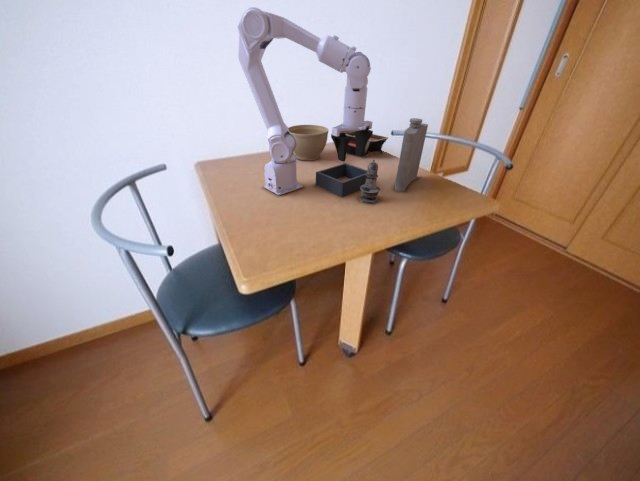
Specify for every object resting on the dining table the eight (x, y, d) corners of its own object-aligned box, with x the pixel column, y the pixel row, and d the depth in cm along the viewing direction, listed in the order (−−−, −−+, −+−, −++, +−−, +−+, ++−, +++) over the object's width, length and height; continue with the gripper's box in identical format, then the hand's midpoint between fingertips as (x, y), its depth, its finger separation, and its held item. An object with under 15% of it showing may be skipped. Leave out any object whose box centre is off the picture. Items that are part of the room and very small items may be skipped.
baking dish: (361, 149, 132) (359, 127, 127) (392, 153, 120) (392, 128, 115) (338, 158, 125) (335, 134, 120) (369, 162, 112) (367, 136, 108)
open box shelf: (342, 197, 85) (343, 183, 83) (315, 185, 92) (315, 171, 89) (370, 185, 93) (372, 172, 90) (344, 175, 100) (345, 162, 97)
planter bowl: (305, 148, 125) (305, 122, 119) (335, 156, 117) (336, 129, 110) (279, 157, 114) (277, 129, 108) (309, 166, 106) (309, 136, 100)
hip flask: (402, 192, 89) (415, 124, 77) (390, 189, 90) (401, 122, 79) (417, 177, 100) (431, 115, 89) (406, 174, 102) (418, 114, 90)
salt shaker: (378, 195, 86) (383, 156, 80) (379, 204, 81) (385, 163, 75) (358, 194, 87) (362, 155, 80) (358, 203, 82) (363, 162, 75)
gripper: (347, 112, 69) (343, 166, 77) (383, 106, 77) (376, 156, 85) (326, 108, 73) (325, 160, 81) (363, 102, 82) (358, 150, 89)
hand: (350, 157), depth 83 cm, fingers open, 7 cm apart
